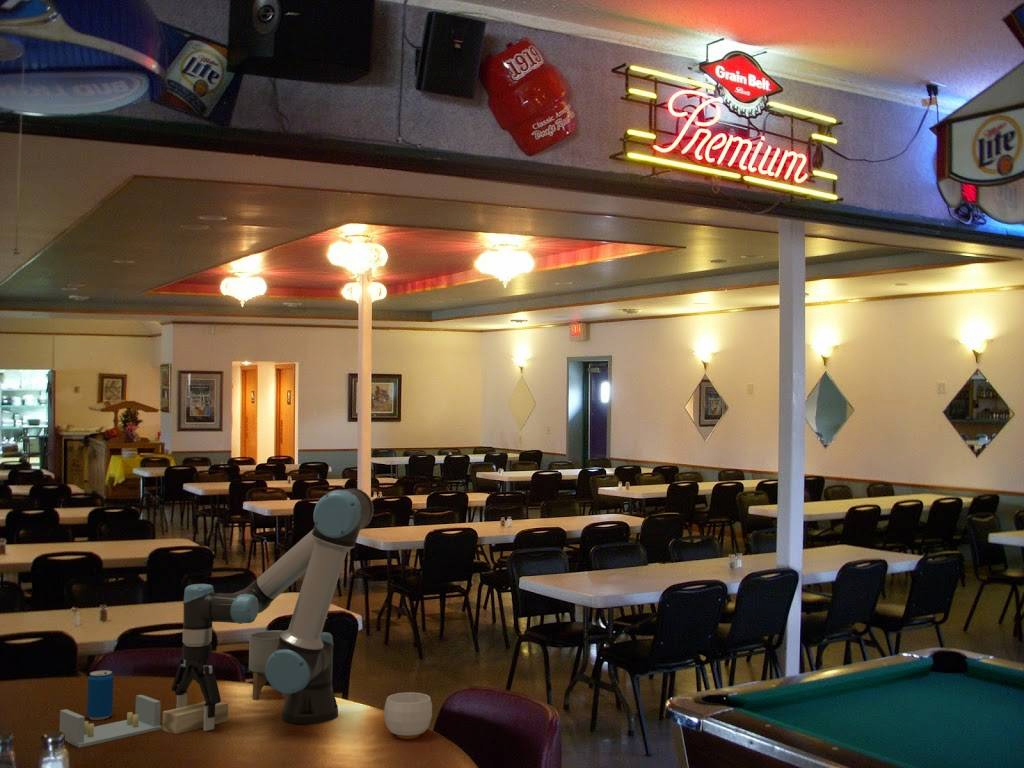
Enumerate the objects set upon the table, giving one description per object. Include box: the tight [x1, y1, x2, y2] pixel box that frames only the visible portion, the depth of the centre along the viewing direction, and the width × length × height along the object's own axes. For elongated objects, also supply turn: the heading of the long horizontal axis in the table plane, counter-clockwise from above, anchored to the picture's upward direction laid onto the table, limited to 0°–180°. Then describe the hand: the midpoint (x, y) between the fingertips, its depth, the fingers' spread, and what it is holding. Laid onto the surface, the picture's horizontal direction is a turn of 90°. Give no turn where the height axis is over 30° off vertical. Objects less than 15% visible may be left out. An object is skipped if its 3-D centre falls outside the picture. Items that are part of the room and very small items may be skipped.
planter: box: [248, 630, 287, 701], centre depth 306 cm, size 13×13×18 cm
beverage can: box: [86, 669, 115, 721], centre depth 280 cm, size 6×6×12 cm
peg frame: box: [59, 694, 163, 748], centre depth 266 cm, size 12×22×7 cm, turn 138°
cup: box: [383, 691, 433, 740], centre depth 267 cm, size 12×12×10 cm
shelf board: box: [161, 701, 229, 735], centre depth 274 cm, size 6×16×5 cm, turn 142°
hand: (194, 724), depth 274 cm, fingers open, 13 cm apart
